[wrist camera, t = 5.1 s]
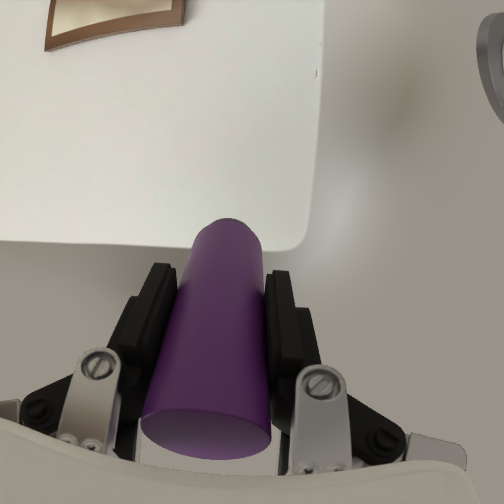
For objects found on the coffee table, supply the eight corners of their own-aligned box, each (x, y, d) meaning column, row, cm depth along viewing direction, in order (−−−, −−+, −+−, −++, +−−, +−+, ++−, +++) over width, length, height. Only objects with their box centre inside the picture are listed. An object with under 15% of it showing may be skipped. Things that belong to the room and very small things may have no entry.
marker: (234, 198, 14) (208, 395, 5) (273, 248, 15) (296, 445, 6) (183, 235, 14) (115, 422, 6) (223, 279, 16) (202, 465, 7)
